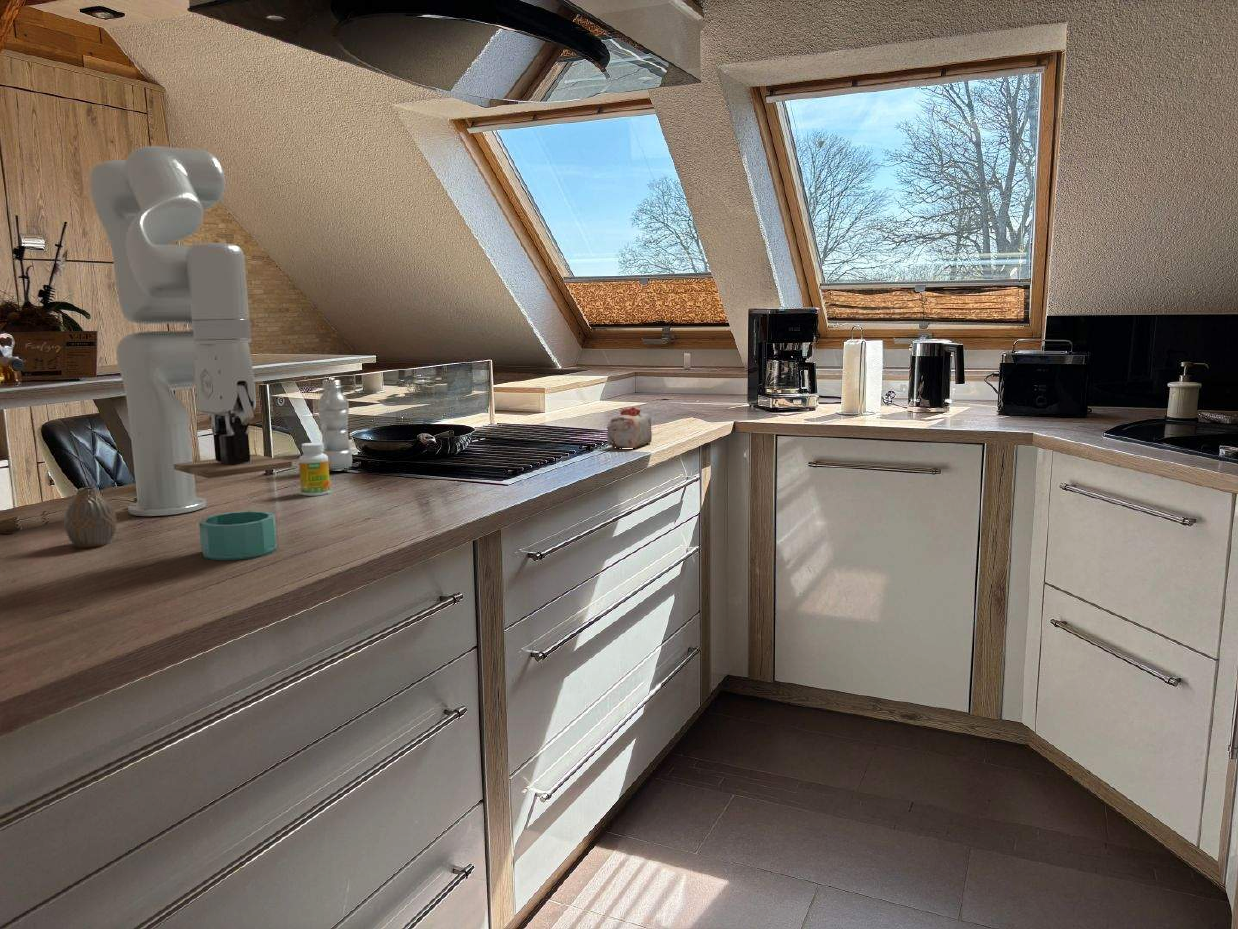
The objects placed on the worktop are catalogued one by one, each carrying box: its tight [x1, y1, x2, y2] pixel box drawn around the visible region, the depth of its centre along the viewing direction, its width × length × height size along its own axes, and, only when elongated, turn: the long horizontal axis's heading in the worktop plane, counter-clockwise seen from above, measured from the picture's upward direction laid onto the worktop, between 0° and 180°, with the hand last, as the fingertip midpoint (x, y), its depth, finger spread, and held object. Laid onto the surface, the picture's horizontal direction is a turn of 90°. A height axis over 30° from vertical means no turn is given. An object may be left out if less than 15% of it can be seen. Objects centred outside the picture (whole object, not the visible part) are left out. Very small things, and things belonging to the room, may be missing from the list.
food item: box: [606, 407, 653, 449], centre depth 238 cm, size 14×8×10 cm, turn 157°
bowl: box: [198, 510, 277, 561], centre depth 139 cm, size 10×10×5 cm
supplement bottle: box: [298, 442, 331, 497], centre depth 182 cm, size 5×5×10 cm
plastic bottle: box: [317, 379, 353, 470], centre depth 207 cm, size 6×7×20 cm
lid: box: [174, 434, 293, 479], centre depth 137 cm, size 12×12×5 cm
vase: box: [63, 486, 117, 549], centre depth 144 cm, size 7×7×9 cm
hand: (233, 460), depth 137 cm, fingers closed on lid, 3 cm apart
